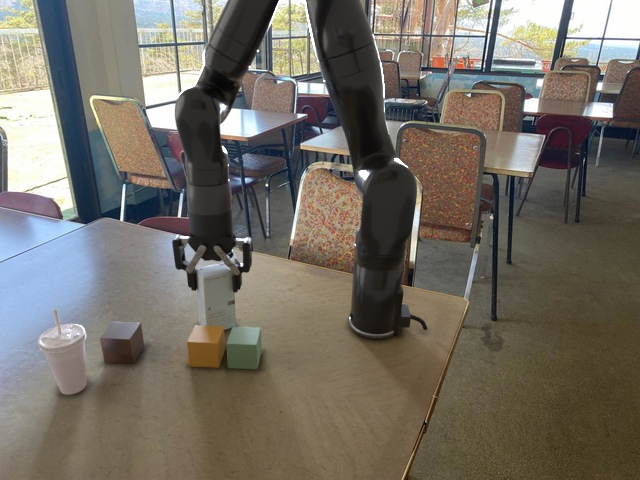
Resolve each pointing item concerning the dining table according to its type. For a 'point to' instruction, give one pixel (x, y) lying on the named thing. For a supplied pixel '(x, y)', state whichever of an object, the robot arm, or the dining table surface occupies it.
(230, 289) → the cosmetic box
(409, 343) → the dining table surface
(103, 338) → the block walnut
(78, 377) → the smoothie
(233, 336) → the block sage
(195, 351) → the block ochre
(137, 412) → the dining table surface
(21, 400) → the dining table surface
